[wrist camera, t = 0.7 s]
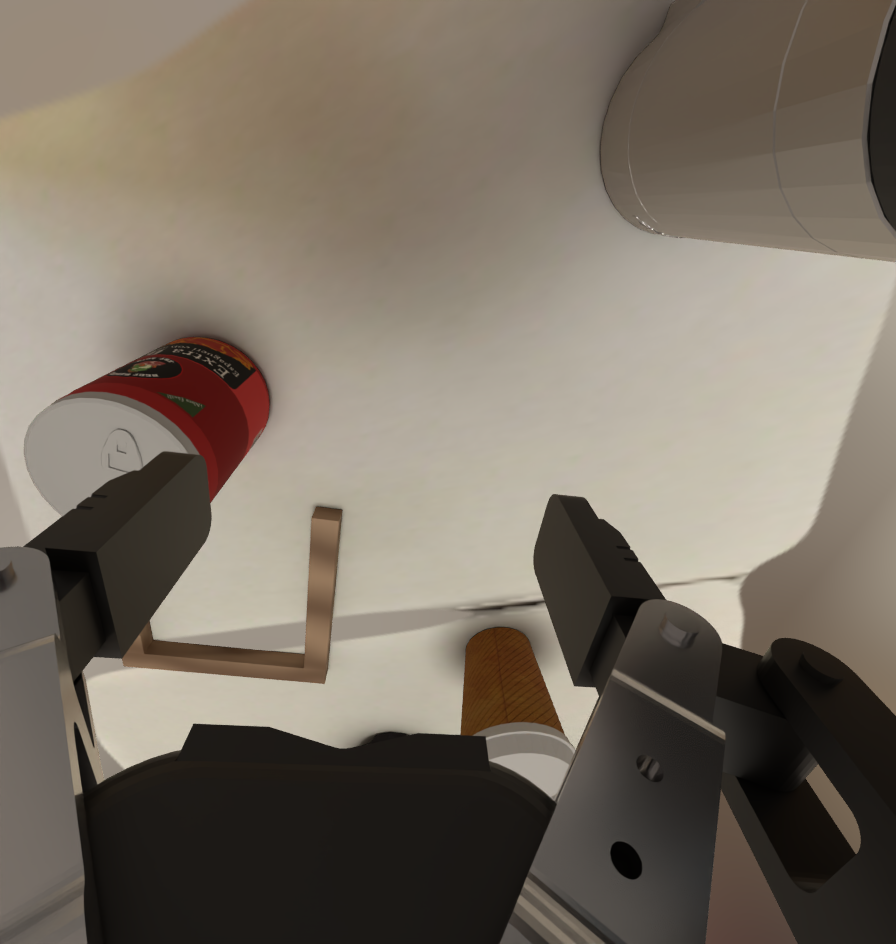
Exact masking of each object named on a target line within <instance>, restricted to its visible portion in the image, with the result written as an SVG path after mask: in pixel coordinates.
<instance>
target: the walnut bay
mask: <svg viewBox="0 0 896 944" xmlns="http://www.w3.org/2000/svg"><path fill="white" fill-rule="evenodd" d="M341 519H342V510H339V509H331V508H324V507H316V508H315V511H314V513H313V516H312V522H311V541H310V561H309V581H308V600H307V620H306V640H305V654H294V653H284V652H273V651H263V650H252V649H241V648H231V647H220V646H210V645H199V644H189V643H178V642H168V641H157V640H153V637H152V632H151V627H150V622H148V623H147V624H146V626H145V627H144V629H143V630H142V631H141V633H140V634H139V636H138V637H137V638H136V640H135V641H134V643H133V644H132V645H131V647H130V648H129V650H128V651H127V652H126V654H125V655H124V657H123V658H122V661H123V664H124V666H128V667H139V668H150V669H162V670H173V671H184V672H196V673H207V674H219V675H230V676H242V677H253V678H264V679H276V680H287V681H299V682H310V683H322V684H325V680H326V675H327V671H328V661H329V651H330V639H331V628H332V618H333V607H334V596H335V585H336V574H337V563H338V552H339V541H340V530H341Z"/></svg>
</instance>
